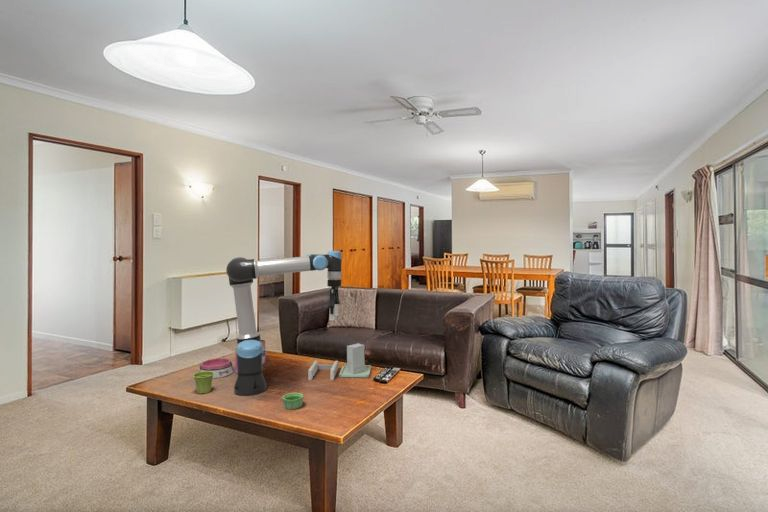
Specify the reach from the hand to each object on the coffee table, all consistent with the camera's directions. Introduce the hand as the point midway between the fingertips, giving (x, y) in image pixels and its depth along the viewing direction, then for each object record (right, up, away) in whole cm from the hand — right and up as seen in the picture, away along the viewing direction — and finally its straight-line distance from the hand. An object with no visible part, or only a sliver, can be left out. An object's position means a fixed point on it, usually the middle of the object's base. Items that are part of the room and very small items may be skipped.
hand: (334, 317), depth 230 cm
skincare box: (+12, -30, +1) cm, 32 cm away
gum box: (-50, -31, +14) cm, 60 cm away
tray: (+12, -30, +1) cm, 33 cm away
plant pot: (-60, -32, -26) cm, 73 cm away
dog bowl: (-65, -32, +2) cm, 73 cm away
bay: (-5, -31, 0) cm, 31 cm away
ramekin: (-13, -33, -45) cm, 57 cm away
